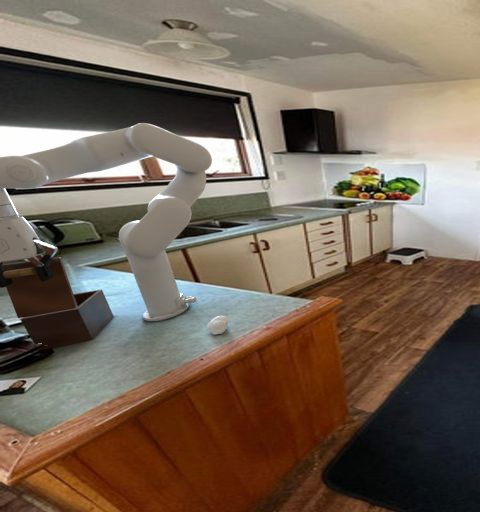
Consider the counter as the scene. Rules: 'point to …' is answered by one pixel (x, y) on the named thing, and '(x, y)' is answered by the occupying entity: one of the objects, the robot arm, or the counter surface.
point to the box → (70, 321)
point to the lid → (38, 289)
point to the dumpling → (218, 325)
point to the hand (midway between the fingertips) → (27, 282)
